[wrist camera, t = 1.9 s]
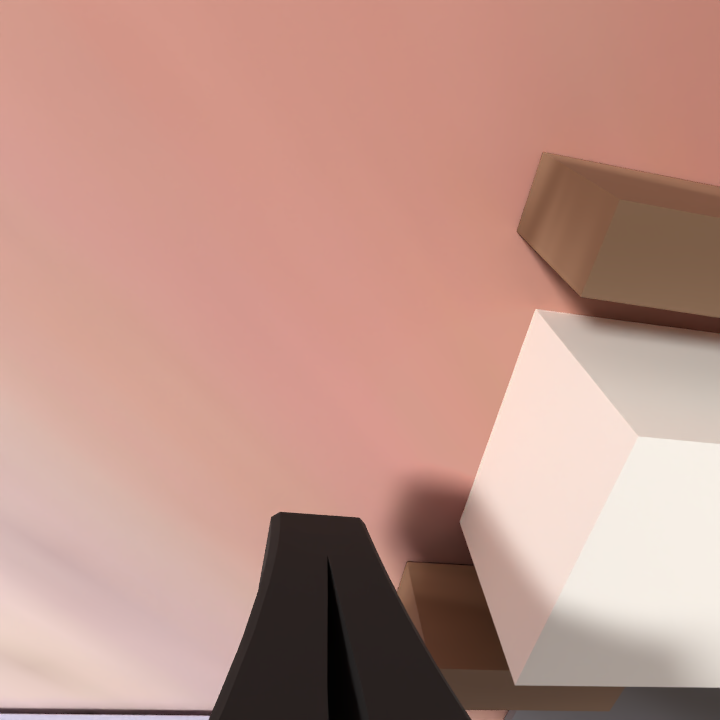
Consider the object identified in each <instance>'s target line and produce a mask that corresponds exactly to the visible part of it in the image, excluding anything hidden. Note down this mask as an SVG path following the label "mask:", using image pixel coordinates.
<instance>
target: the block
mask: <svg viewBox="0 0 720 720" xmlns="http://www.w3.org/2000/svg"><path fill="white" fill-rule="evenodd" d="M460 525H461V528H462V531H463V534H464V537H465V539H466V542H467V545H468V548H469V551H470V554H471V557H472V560H473V563H474V566H475V569H476V572H477V575H478V578H479V581H480V584H481V587H482V590H483V593H484V596H485V598H486V601H487V604H488V607H489V610H490V613H491V616H492V619H493V622H494V625H495V628H496V631H497V634H498V637H499V640H500V643H501V646H502V649H503V652H504V655H505V657H506V660H507V663H508V666H509V669H510V672H511V675H512V678H513V681H514V684H515V685H526V686H614V687H702V688H720V333H713V332H705V331H697V330H690V329H682V328H675V327H667V326H660V325H652V324H645V323H637V322H630V321H622V320H615V319H607V318H600V317H592V316H584V315H577V314H569V313H562V312H554V311H547V310H539V309H535V312H534V315H533V318H532V321H531V323H530V326H529V329H528V332H527V335H526V337H525V340H524V343H523V346H522V349H521V351H520V354H519V357H518V360H517V363H516V365H515V368H514V371H513V374H512V377H511V379H510V382H509V385H508V388H507V391H506V393H505V396H504V399H503V402H502V405H501V407H500V410H499V413H498V416H497V419H496V421H495V424H494V427H493V430H492V433H491V435H490V438H489V441H488V444H487V447H486V449H485V452H484V455H483V458H482V461H481V463H480V466H479V469H478V472H477V475H476V477H475V480H474V483H473V486H472V489H471V491H470V494H469V497H468V500H467V503H466V505H465V508H464V511H463V514H462V517H461V519H460Z"/></svg>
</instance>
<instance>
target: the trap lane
mask: <svg viewBox="0 0 720 720" xmlns="http://www.w3.org/2000/svg"><path fill="white" fill-rule="evenodd" d="M517 232H518V233H519V234H520V235H521V236H522V237H523V238H524V239H525V240H526V242H527V243H528V244H529V245H530V246H531V247H532V248H533V249H534V250H535V251H536V252H537V253H538V254H539V255H540V256H541V257H542V258H543V259H544V260H545V261H546V262H547V263H548V264H549V265H550V266H551V267H552V268H553V269H554V270H555V271H556V272H557V273H558V274H559V275H560V276H561V277H562V278H563V279H564V280H565V281H566V282H567V283H568V284H569V286H570V287H571V288H572V289H573V290H574V291H575V292H576V293H577V294H578V295H579V296H580V297H585V298H591V299H598V300H605V301H611V302H618V303H624V304H631V305H638V306H644V307H651V308H658V309H664V310H671V311H677V312H684V313H691V314H697V315H704V316H711V317H717V318H720V187H719V186H713V185H708V184H703V183H698V182H693V181H688V180H683V179H678V178H673V177H668V176H663V175H658V174H653V173H647V172H642V171H637V170H632V169H627V168H622V167H617V166H612V165H607V164H602V163H597V162H592V161H587V160H582V159H576V158H571V157H566V156H561V155H556V154H551V153H546V152H543V153H542V156H541V159H540V162H539V165H538V168H537V171H536V175H535V178H534V181H533V184H532V187H531V190H530V193H529V196H528V199H527V202H526V205H525V208H524V211H523V214H522V217H521V220H520V223H519V226H518V229H517ZM397 594H398V596H399V598H400V599H401V601H402V603H403V605H404V607H405V609H406V611H407V613H408V615H409V616H410V618H411V620H412V622H413V624H414V625H415V627H416V629H417V631H418V632H419V634H420V636H421V638H422V640H423V641H424V643H425V645H426V647H427V648H428V650H429V652H430V654H431V656H432V657H433V659H434V661H435V662H436V664H437V666H438V667H439V669H440V671H441V672H442V674H443V676H444V677H445V679H446V681H447V682H448V684H449V685H450V687H451V689H452V690H453V692H454V693H455V695H456V696H457V698H458V700H459V701H460V703H461V704H462V706H463V708H464V709H465V710H509V711H508V713H507V715H506V717H505V719H504V720H720V688H702V687H614V686H526V685H515V684H514V681H513V678H512V675H511V672H510V669H509V666H508V663H507V660H506V657H505V655H504V652H503V649H502V646H501V643H500V640H499V637H498V634H497V631H496V628H495V625H494V622H493V619H492V616H491V613H490V610H489V607H488V604H487V601H486V598H485V596H484V593H483V590H482V587H481V584H480V581H479V578H478V575H477V572H476V569H475V566H469V565H452V564H435V563H418V562H407V563H406V566H405V569H404V572H403V575H402V578H401V581H400V585H399V588H398V591H397Z"/></svg>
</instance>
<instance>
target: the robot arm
mask: <svg viewBox="0 0 720 720" xmlns="http://www.w3.org/2000/svg"><path fill="white" fill-rule="evenodd" d="M0 720H471V718H470V717H469V715H468V714H467V712H466V711H465V709H464V708H463V706H462V704H461V703H460V701H459V700H458V698H457V696H456V695H455V693H454V692H453V690H452V689H451V687H450V685H449V684H448V682H447V681H446V679H445V677H444V676H443V674H442V672H441V671H440V669H439V667H438V666H437V664H436V662H435V661H434V659H433V657H432V656H431V654H430V652H429V650H428V648H427V647H426V645H425V643H424V641H423V640H422V638H421V636H420V634H419V632H418V631H417V629H416V627H415V625H414V624H413V622H412V620H411V618H410V616H409V615H408V613H407V611H406V609H405V607H404V605H403V603H402V601H401V599H400V598H399V596H398V594H397V592H396V590H395V588H394V586H393V584H392V582H391V580H390V578H389V576H388V574H387V572H386V570H385V568H384V565H383V563H382V561H381V559H380V557H379V555H378V553H377V551H376V548H375V546H374V544H373V542H372V539H371V537H370V535H369V533H368V530H367V528H366V526H365V524H364V522H363V521H362V520H361V519H360V518H356V517H342V516H328V515H315V514H301V513H287V512H279V513H277V514H276V515H274V516H272V517H271V521H270V527H269V533H268V538H267V544H266V549H265V555H264V561H263V566H262V572H261V578H260V583H259V589H258V593H257V596H256V599H255V602H254V605H253V608H252V611H251V614H250V617H249V620H248V623H247V626H246V629H245V632H244V635H243V637H242V640H241V643H240V645H239V648H238V651H237V653H236V655H235V658H234V660H233V663H232V665H231V668H230V670H229V672H228V675H227V677H226V680H225V682H224V685H223V687H222V690H221V692H220V694H219V697H218V699H217V702H216V704H215V706H214V708H213V711H212V713H211V715H210V716H201V715H94V714H0Z"/></svg>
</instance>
